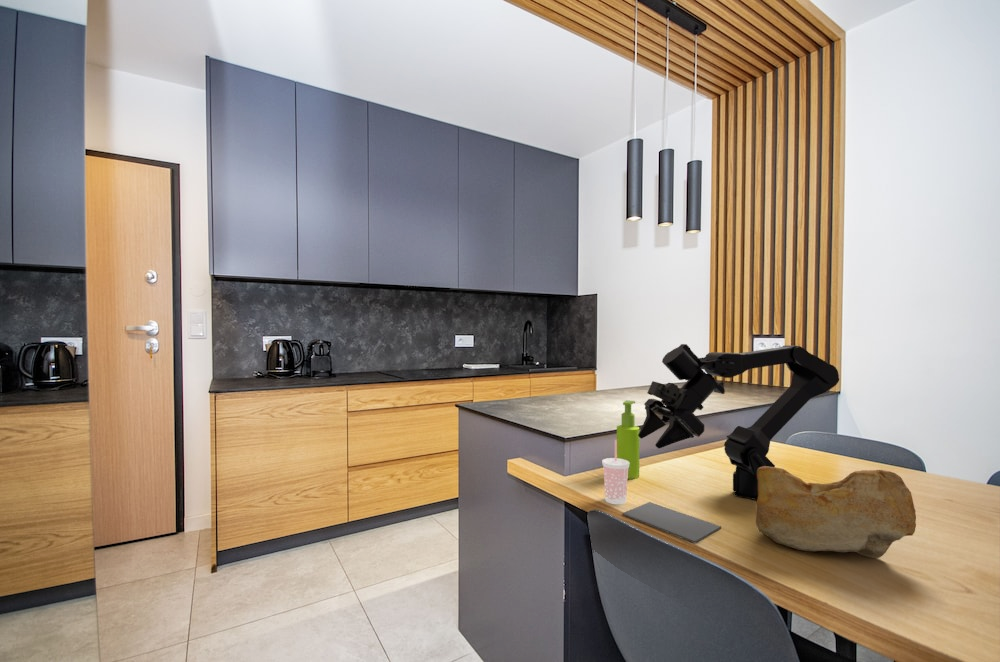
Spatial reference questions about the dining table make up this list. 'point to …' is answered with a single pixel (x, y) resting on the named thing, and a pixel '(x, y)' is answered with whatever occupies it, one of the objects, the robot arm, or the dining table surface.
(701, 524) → the mat
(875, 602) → the dining table surface
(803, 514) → the rough brown rock
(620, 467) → the beverage cup
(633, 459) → the soap dispenser
